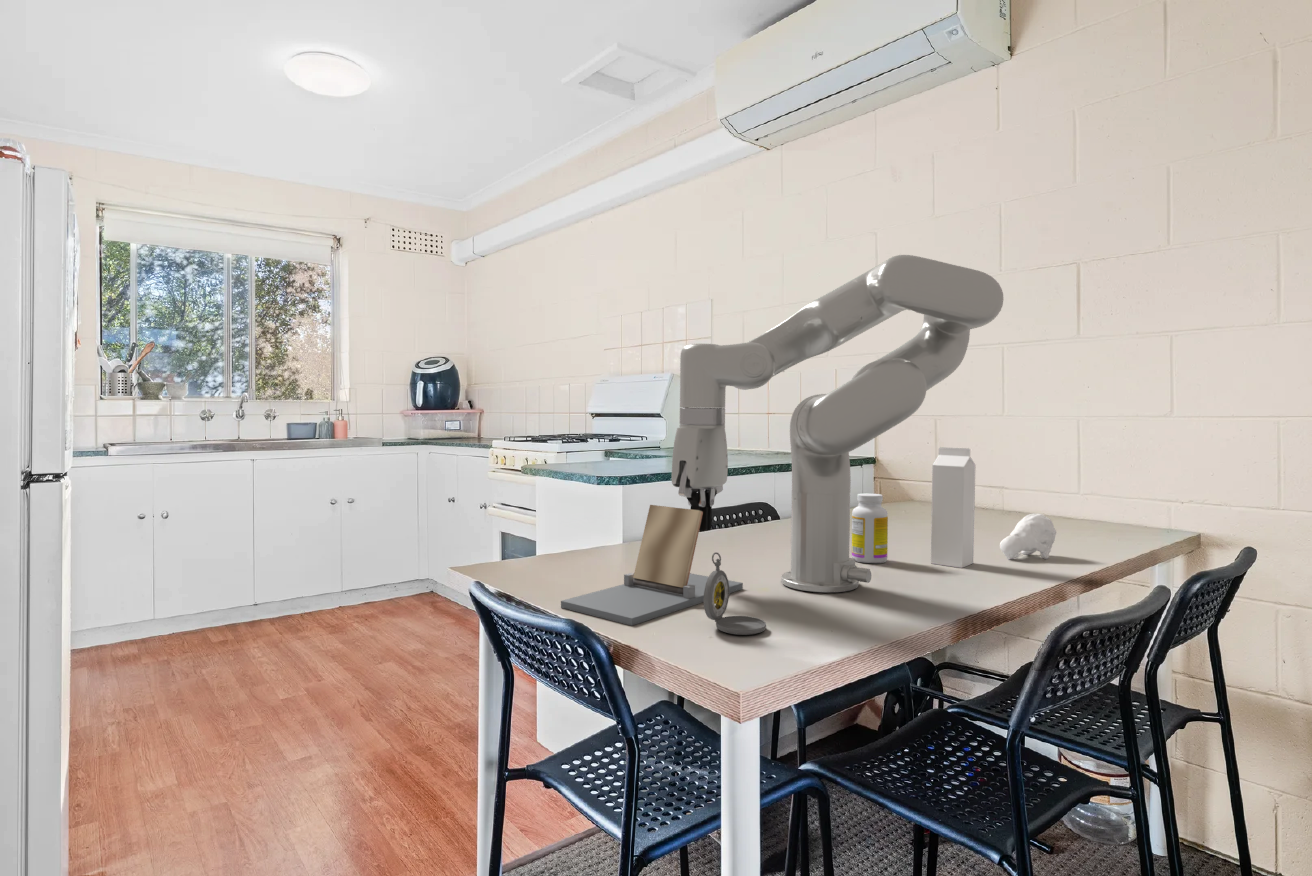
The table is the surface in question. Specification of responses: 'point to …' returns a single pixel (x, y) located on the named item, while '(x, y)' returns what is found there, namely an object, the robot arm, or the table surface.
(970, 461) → the milk
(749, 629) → the pocket watch
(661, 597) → the board
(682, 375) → the robot arm
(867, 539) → the supplement bottle
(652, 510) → the tile
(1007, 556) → the white animal figurine
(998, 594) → the table surface
